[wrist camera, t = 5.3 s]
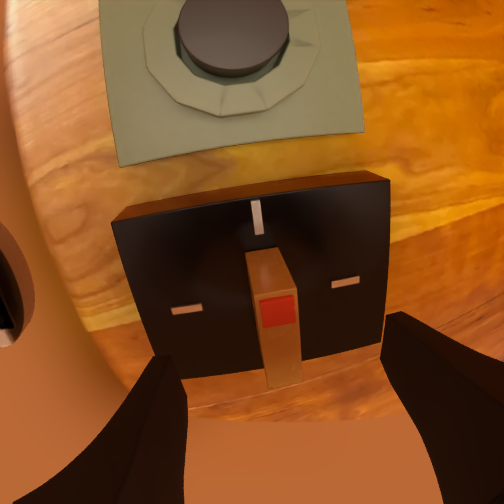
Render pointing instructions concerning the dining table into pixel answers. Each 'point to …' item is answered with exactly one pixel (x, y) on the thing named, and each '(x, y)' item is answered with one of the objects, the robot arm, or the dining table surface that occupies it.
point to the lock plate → (236, 274)
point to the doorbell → (224, 83)
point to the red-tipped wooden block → (275, 316)
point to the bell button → (232, 34)
